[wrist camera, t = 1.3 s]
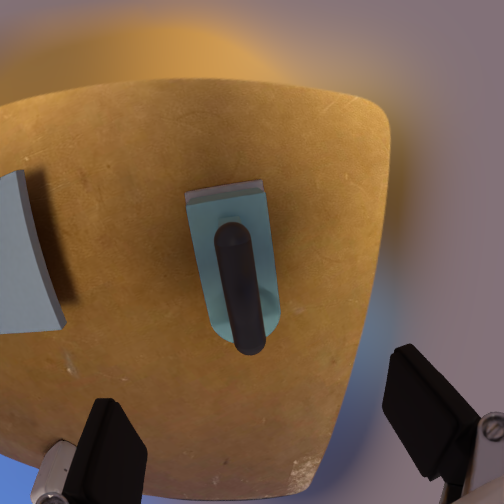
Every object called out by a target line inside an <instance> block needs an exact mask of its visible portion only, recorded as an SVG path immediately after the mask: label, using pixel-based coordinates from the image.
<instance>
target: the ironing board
mask: <svg viewBox="0 0 504 504" xmlns="http://www.w3.org/2000/svg"><path fill="white" fill-rule="evenodd" d="M66 323H67V321H66V319H65V317H64V314H63V312H62V309H61V307H60V304H59V301H58V299H57V296H56V293H55V291H54V288H53V285H52V282H51V279H50V276H49V273H48V270H47V267H46V264H45V260H44V257H43V254H42V250H41V247H40V243H39V240H38V236H37V232H36V228H35V224H34V220H33V215H32V211H31V206H30V202H29V197H28V191H27V186H26V180H25V174H24V170H17V171H14V172H12V173H9V174H7V175H5V176H3V177H1V178H0V334H8V333H25V332H39V331H52V330H62V329H63V327H64V326H65V325H66Z"/></svg>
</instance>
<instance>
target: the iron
mask: <svg viewBox="0 0 504 504" xmlns="http://www.w3.org/2000/svg"><path fill="white" fill-rule="evenodd" d="M185 200H186V211H187V216H188V222H189V227H190V232H191V237H192V242H193V247H194V251H195V256H196V261H197V266H198V270H199V275H200V279H201V284H202V288H203V293H204V297H205V301H206V306H207V310H208V314H209V318H210V322H211V326H212V327H213V329H214V330H215V332H216V333H217V334H218V335H219V336H221V337H222V338H223V339H225V340H227V341H229V342H232V343H234V344H235V347H236V348H237V350H238V351H239V352H241V353H242V354H245V355H255V354H257V353H259V352H260V351H261V350H262V349H263V348H264V346H265V343H266V337H267V336H268V335H269V334H271V333H272V332H273V330H274V329H275V328H276V326H277V324H278V322H279V318H280V314H281V311H280V302H279V294H278V286H277V277H276V269H275V261H274V253H273V245H272V237H271V230H270V222H269V214H268V207H267V199H266V193H265V192H264V187H263V181H262V180H260V179H259V180H252V181H245V182H239V183H233V184H226V185H220V186H215V187H209V188H203V189H198V190H192V191H187V192H185Z"/></svg>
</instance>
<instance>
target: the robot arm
mask: <svg viewBox="0 0 504 504" xmlns="http://www.w3.org/2000/svg"><path fill="white" fill-rule="evenodd" d="M382 409H383V412H384V414H385V416H386V417H387V419H388V420H389V422H390V424H391V425H392V427H393V429H394V430H395V432H396V434H397V435H398V437H399V439H400V440H401V442H402V443H403V445H404V447H405V448H406V450H407V452H408V453H409V455H410V457H411V458H412V460H413V462H414V463H415V465H416V467H417V468H418V470H419V472H420V473H421V475H422V476H423V477H428V479H429V481H432V480H434V479H436V478H438V477H440V476H441V477H442V478H443V480H444V481H445V484H444V488H443V492H442V495H441V499H440V502H439V504H504V413H501V412H490V413H488V414H486V415H484V416H483V417H482V418H481V417H480V416H479V415H478V414H477V413H476V412H475V411H474V409H473V408H472V407H471V406H470V405H469V404H468V403H467V402H466V400H465V399H464V398H463V397H462V396H461V395H460V394H459V393H458V392H457V390H456V389H455V388H454V387H453V386H452V385H451V384H450V383H449V382H448V381H447V380H446V379H445V377H444V376H443V375H442V374H441V373H440V372H438V371H437V370H436V369H435V368H434V367H433V365H431V363H430V362H429V361H428V360H427V359H426V358H425V357H424V356H423V355H422V354H421V353H420V352H419V351H418V350H417V349H416V348H415V346H414V345H412V344H407V345H404V346H401V347H398V348H396V349H395V350H394V353H393V354H391V356H390V363H389V369H388V375H387V382H386V387H385V392H384V397H383V403H382ZM147 455H148V453H147V448H146V446H145V445H144V443H143V442H142V440H141V439H140V437H139V436H138V434H137V432H136V431H135V429H134V428H133V426H132V424H131V423H130V421H129V419H128V418H127V416H126V414H125V412H124V411H123V409H122V407H121V405H120V404H119V403H118V402H115V401H114V399H112V398H97V399H96V400H95V402H94V404H93V407H92V409H91V412H90V414H89V417H88V419H87V422H86V425H85V427H84V430H83V433H82V435H81V437H80V440H79V442H78V445H77V448H76V451H75V454H74V457H73V459H72V462H71V465H70V468H69V471H68V474H67V477H66V481H65V484H64V487H63V490H62V493H61V494H59V493H56V492H48V493H45V494H43V495H41V496H40V497H39V498H38V499H37V501H36V504H141V499H142V491H143V483H144V476H145V469H146V462H147Z"/></svg>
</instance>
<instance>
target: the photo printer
mask: <svg viewBox="0 0 504 504" xmlns="http://www.w3.org/2000/svg"><path fill="white" fill-rule="evenodd" d="M76 448H77V447H75V446H74V445H73V444H71V443H69V442H67V441H59V442H58V443H56V444H55V445H54V446H53V447H52V448H51V449H50V450H49V451H48V452H47V453H46V455H45V457H44V459H43V462H42V464H41V467H40V469H39V472H38V475H37V477H36V480H35V483H34V485H33V488H32V491H31V495H30V497H31V501H32V503H33V504H36V501H37V499H38V498H39V497H40V496H41V495H43V494H45V493H48V492H56V493H59V494H61V493H62V490H63V487H64V484H65V481H66V477H67V474H68V471H69V468H70V465H71V462H72V459H73V457H74V454H75V451H76Z"/></svg>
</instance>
